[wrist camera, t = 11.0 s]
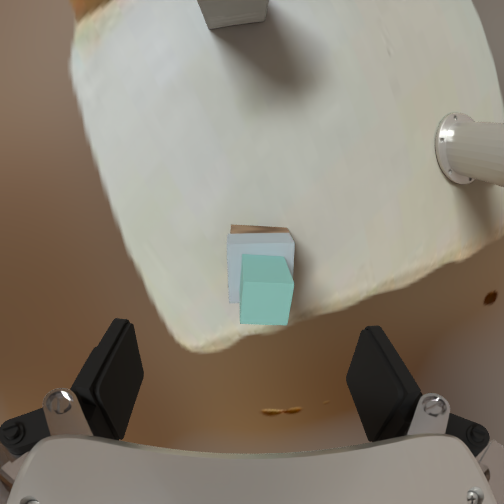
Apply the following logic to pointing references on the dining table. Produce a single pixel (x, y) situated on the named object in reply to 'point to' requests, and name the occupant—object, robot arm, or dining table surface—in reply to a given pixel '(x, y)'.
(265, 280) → the block
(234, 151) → the dining table surface
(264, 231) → the tower base
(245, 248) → the tower top
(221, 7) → the skincare box
